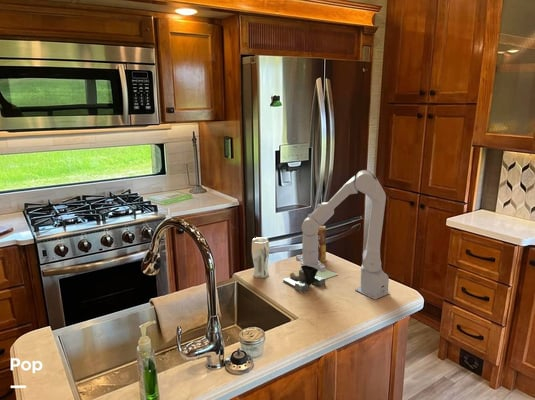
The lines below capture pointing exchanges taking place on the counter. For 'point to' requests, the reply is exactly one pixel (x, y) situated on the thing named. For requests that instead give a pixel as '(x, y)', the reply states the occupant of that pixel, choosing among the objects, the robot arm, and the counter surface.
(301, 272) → the grey tapered rounded piece
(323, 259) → the candy box
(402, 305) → the counter surface
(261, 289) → the counter surface
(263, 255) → the beer glass
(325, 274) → the plate
